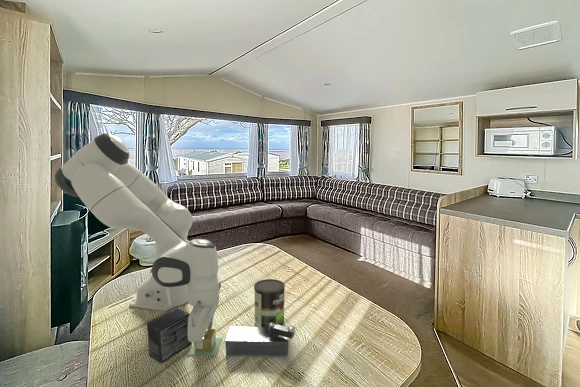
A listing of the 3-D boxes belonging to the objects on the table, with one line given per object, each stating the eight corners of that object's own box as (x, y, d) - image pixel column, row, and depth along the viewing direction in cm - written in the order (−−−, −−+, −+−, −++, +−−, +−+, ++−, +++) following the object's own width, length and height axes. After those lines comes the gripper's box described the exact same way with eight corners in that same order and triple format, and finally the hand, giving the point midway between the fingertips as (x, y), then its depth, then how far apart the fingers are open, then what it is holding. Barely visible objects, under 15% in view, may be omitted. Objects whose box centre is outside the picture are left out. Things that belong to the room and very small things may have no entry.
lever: (293, 341, 89) (293, 330, 89) (267, 334, 93) (267, 323, 92) (296, 337, 91) (296, 326, 91) (270, 330, 95) (270, 320, 94)
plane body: (225, 356, 91) (225, 341, 90) (230, 341, 98) (230, 326, 97) (288, 358, 90) (288, 342, 90) (288, 342, 98) (288, 327, 97)
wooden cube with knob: (211, 351, 92) (211, 337, 92) (194, 351, 92) (194, 336, 92) (215, 341, 97) (215, 327, 96) (199, 340, 97) (199, 327, 96)
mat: (187, 355, 91) (187, 354, 91) (196, 338, 99) (196, 337, 99) (215, 356, 91) (215, 355, 91) (221, 339, 99) (221, 338, 99)
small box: (179, 337, 100) (177, 306, 98) (192, 344, 96) (191, 313, 94) (147, 355, 91) (145, 322, 89) (161, 364, 87) (159, 329, 86)
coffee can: (290, 321, 109) (290, 283, 107) (273, 336, 100) (273, 295, 98) (266, 312, 114) (266, 276, 112) (248, 326, 106) (247, 287, 104)
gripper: (204, 313, 82) (205, 361, 84) (222, 279, 102) (223, 318, 104) (180, 312, 82) (182, 360, 84) (202, 279, 102) (204, 318, 104)
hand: (205, 337), depth 94 cm, fingers open, 8 cm apart
